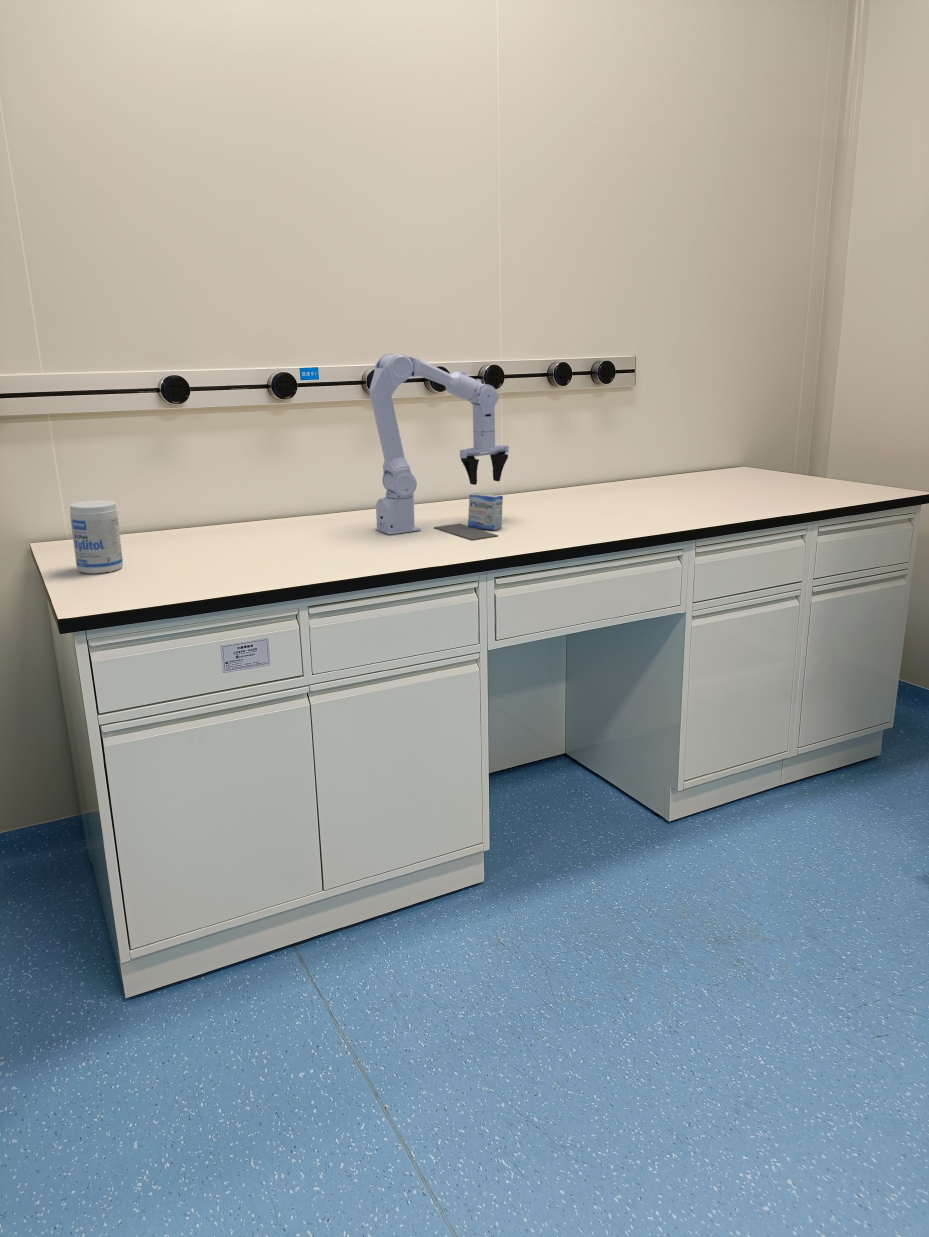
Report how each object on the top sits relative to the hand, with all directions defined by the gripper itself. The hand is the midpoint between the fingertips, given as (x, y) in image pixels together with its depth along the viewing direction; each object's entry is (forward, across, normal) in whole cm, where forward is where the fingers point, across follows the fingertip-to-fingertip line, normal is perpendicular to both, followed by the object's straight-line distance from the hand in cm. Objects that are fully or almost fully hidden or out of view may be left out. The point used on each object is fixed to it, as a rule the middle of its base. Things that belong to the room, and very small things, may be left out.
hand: (485, 482), depth 239 cm
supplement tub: (+9, -98, +8) cm, 99 cm away
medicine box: (+11, -5, -7) cm, 14 cm away
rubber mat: (+10, -12, -8) cm, 18 cm away
